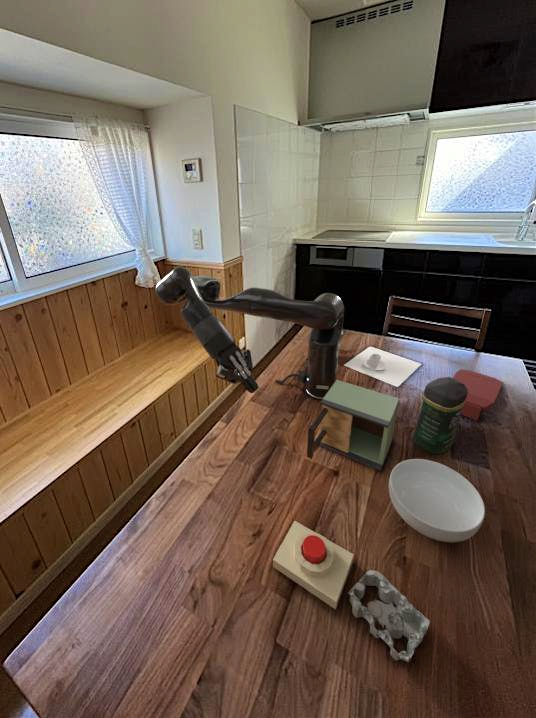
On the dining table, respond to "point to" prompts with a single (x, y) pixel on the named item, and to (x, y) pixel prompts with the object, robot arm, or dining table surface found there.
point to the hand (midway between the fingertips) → (255, 390)
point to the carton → (478, 392)
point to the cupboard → (364, 421)
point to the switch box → (314, 565)
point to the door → (330, 430)
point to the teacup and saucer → (383, 366)
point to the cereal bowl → (436, 500)
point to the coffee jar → (440, 414)
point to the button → (314, 549)
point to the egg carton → (389, 614)
